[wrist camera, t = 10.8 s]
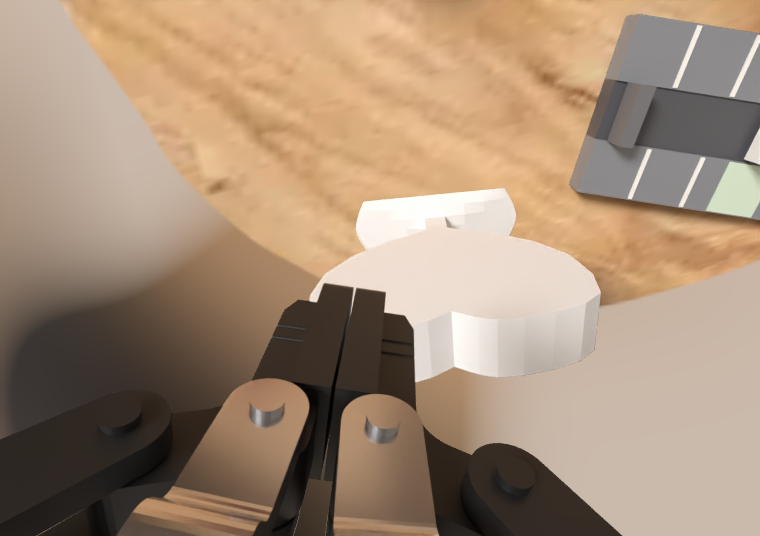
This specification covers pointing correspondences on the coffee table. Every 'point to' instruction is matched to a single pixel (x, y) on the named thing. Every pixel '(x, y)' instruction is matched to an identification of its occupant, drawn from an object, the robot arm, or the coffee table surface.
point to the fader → (754, 150)
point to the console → (677, 119)
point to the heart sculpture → (472, 285)
